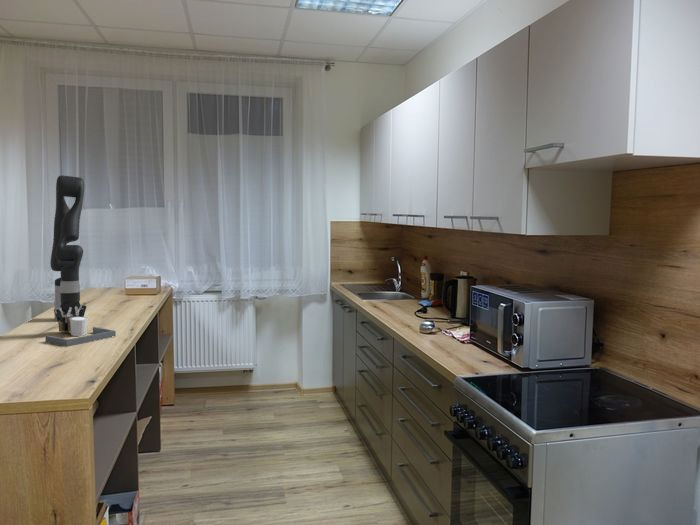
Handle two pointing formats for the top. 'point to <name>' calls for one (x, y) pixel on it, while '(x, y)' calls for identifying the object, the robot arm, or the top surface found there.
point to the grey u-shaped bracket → (74, 341)
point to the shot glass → (78, 326)
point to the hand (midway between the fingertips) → (70, 329)
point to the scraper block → (62, 325)
